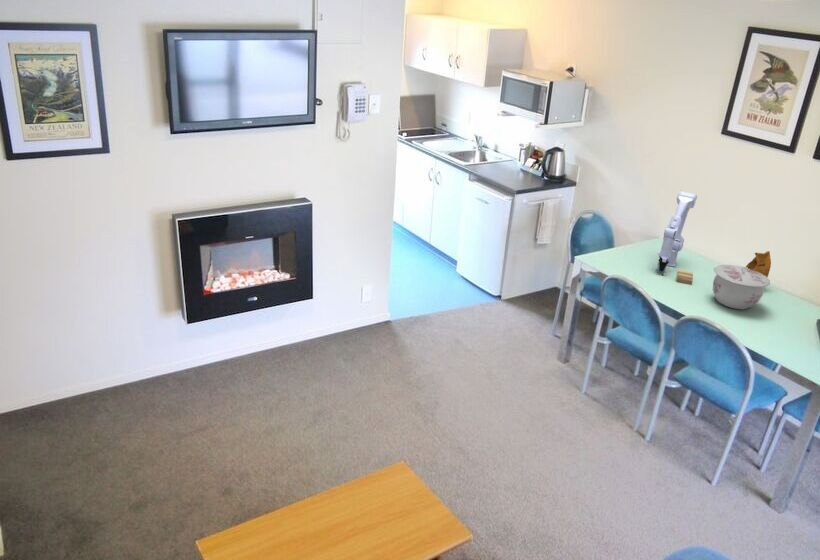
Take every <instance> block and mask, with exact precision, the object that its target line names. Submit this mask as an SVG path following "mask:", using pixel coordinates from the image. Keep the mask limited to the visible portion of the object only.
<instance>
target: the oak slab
mask: <svg viewBox="0 0 820 560" xmlns="http://www.w3.org/2000/svg"><path fill="white" fill-rule="evenodd" d="M677 279H682V280H686V281H691V282H692V283H693V279H694V272H693V271H687V270H684V269H683V270H682V269H678V270H677V275H676V280H677Z"/></svg>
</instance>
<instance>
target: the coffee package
mask: <svg viewBox="0 0 820 560" xmlns="http://www.w3.org/2000/svg"><path fill="white" fill-rule="evenodd" d="M754 255H755V256H754V258H753V259H752V260H751V261H750V262H748V263H747V264H746V265H745V267H748V268H749V269H752V270H755V271H757V272H759V273H761V274H763V275H765V276H766V277H767V278H769V276H770V275H769V274H770V271H771V267H772V266H771V265H772V259H771V252H770V251H769V250H767V251H765V252H764V253H762V252H755V253H754Z"/></svg>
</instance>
